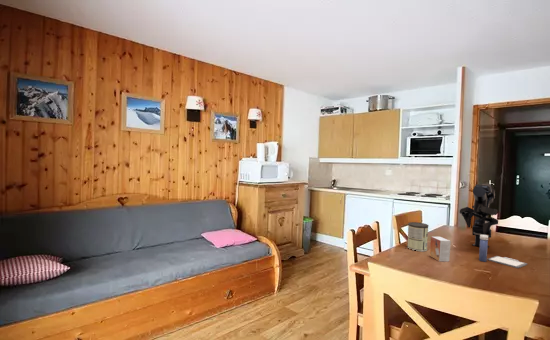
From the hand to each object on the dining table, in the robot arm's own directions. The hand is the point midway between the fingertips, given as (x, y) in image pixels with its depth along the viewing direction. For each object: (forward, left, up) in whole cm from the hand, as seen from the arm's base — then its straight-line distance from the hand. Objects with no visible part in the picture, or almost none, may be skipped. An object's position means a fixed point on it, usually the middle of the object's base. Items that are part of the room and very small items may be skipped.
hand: (476, 230), depth 162 cm
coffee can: (+22, -20, -13) cm, 32 cm away
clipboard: (+1, +15, -13) cm, 19 cm away
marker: (+10, +8, -13) cm, 18 cm away
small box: (+28, -4, -13) cm, 31 cm away
